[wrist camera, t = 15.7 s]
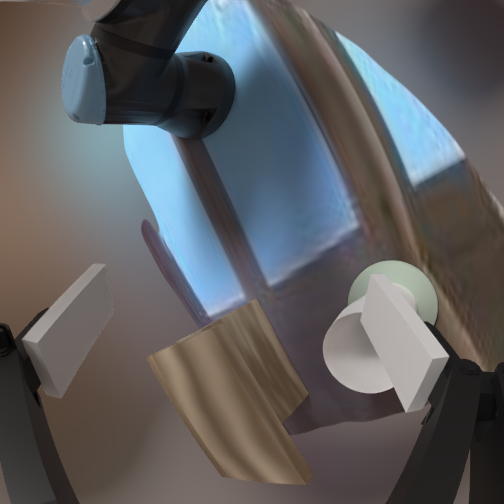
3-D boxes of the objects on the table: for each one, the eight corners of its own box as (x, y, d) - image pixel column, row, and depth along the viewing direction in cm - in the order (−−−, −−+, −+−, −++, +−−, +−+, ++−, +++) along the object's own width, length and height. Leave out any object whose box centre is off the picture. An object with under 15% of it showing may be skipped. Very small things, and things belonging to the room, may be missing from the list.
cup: (434, 331, 33) (421, 387, 23) (370, 346, 38) (337, 398, 29) (414, 263, 33) (397, 298, 23) (349, 284, 38) (308, 322, 29)
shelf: (317, 266, 41) (211, 329, 25) (373, 378, 39) (306, 484, 23) (250, 301, 49) (146, 357, 33) (301, 395, 47) (221, 476, 31)
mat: (354, 252, 38) (353, 253, 37) (446, 269, 31) (446, 270, 31) (343, 336, 41) (342, 338, 41) (425, 357, 34) (424, 359, 34)
